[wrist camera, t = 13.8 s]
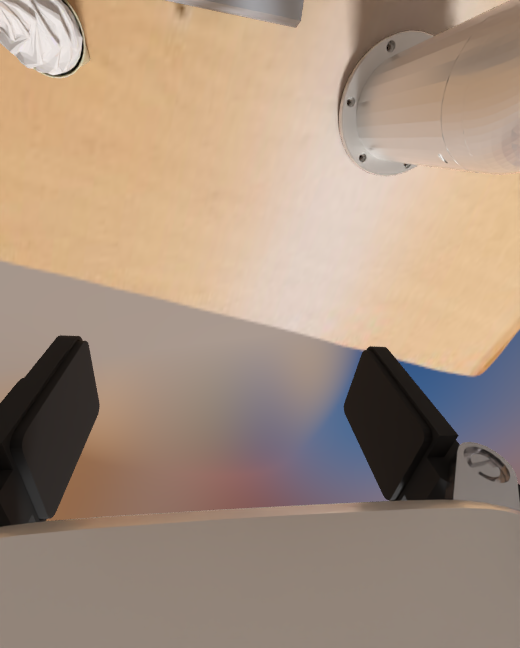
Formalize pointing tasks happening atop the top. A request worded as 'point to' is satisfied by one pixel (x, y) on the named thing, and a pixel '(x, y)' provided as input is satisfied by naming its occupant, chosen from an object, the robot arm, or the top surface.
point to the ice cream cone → (44, 35)
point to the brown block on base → (255, 9)
